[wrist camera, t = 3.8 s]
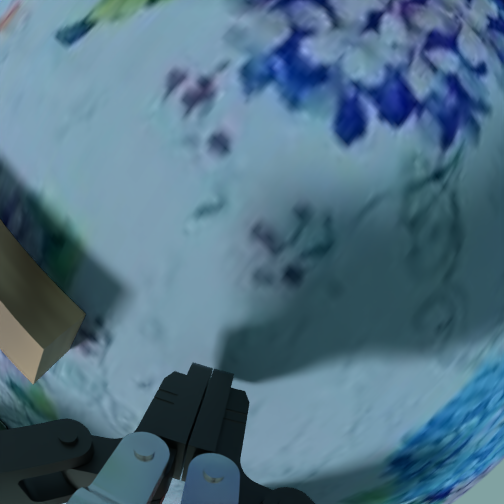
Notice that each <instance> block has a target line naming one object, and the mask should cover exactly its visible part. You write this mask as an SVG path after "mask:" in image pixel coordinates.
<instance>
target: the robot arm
mask: <svg viewBox="0 0 504 504" xmlns="http://www.w3.org/2000/svg"><path fill="white" fill-rule="evenodd" d="M212 370H213V368H210V367H207V366H203V365H200V364H196V363H192V365H191V367H190V369H189V371H188V374H187V375H185V374H182V373H178V372H175V371H174V372H173V373H171V374H170V375H168V376H167V377H165V378H164V380H163V382H162V384H161V385H160V387H159V390H158V391H157V393H156V395H155V396H154V398H153V400H152V402H151V404H150V406H149V407H148V409H147V411H146V413H145V415H144V417H143V419H142V420H141V422H140V424H139V426H138V428H137V429H136V431H135V432H134V433H131V434H128V435H127V436H125V437H124V438H119V439H110V438H104V437H98V436H93V435H91V434H90V432H89V430H88V429H87V428H86V427H85V426H84V425H83V424H81V423H80V422H78V421H75V420H72V419H60V420H55V421H50V422H46V423H41V424H36V425H31V426H25V427H19V428H13V429H7V430H1V431H0V504H63V503H66V502H67V504H162V502H163V500H164V498H165V495H166V493H167V491H168V489H169V486H170V483H171V480H172V478H175V479H178V480H179V479H180V476H181V473H182V470H183V474H182V481H185V486H184V491H183V495H182V500H181V504H315V503H314V502H313V501H312V500H311V499H310V498H309V497H308V496H307V495H306V494H305V493H303V492H302V491H300V490H297V489H294V488H288V487H283V488H277V489H275V490H271V489H269V488H266V487H264V486H262V485H260V484H258V483H256V482H254V481H252V480H251V479H250V478H248V477H247V476H246V474H245V473H244V472H243V470H242V468H241V464H240V457H241V451H242V445H243V439H244V433H245V427H246V421H247V414H248V408H249V400H248V398H247V395H246V392H245V391H242V390H238V389H234V388H231V385H232V381H233V376H234V374H232V373H228V372H225V371H221V370H217V369H214V371H213V373H212ZM211 374H212V376H211ZM183 467H184V469H183Z"/></svg>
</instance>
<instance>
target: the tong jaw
mask: <svg viewBox="0 0 504 504" xmlns="http://www.w3.org/2000/svg"><path fill="white" fill-rule="evenodd" d="M85 315H86V314H85V313H84V312H83V311H82V310H81V309H80V308H79V307H78V306H77V305H76V304H75V303H74V302H73V301H72V300H71V299H70V298H69V297H68V296H67V295H66V294H65V293H64V292H63V291H62V290H61V289H60V288H59V287H58V286H57V285H56V284H55V283H54V282H53V281H52V280H51V279H50V278H49V277H48V276H47V275H46V273H45V272H44V271H43V270H42V269H41V268H40V267H39V266H38V265H37V264H36V262H35V261H34V260H33V259H32V258H31V257H30V256H29V254H28V253H27V252H26V251H25V250H24V249H23V247H22V246H21V245H20V244H19V243H18V241H17V240H16V239H15V238H14V236H13V235H12V234H11V233H10V231H9V230H8V229H7V227H6V226H5V225H4V224H3V222H2V221H1V220H0V349H1V350H2V351H3V352H4V354H5V355H6V356H7V357H8V358H9V359H10V360H11V362H12V363H13V364H14V365H15V366H16V367H17V368H18V369H19V370H20V371H21V372H22V373H23V374H24V376H25V377H26V378H27V379H28V380H29V381H30V382H31V383H32V384H34V383H35V382H36V381H37V380H38V379H39V378H40V377H41V376H42V375H43V374H45V373H46V372H47V371H48V370H49V369H50V368H51V367H52V366H53V365H54V364H55V363H56V362H57V361H58V360H59V359H60V358H61V357H62V356H63V355H64V354H65V353H66V352H67V351H69V349H70V347H71V345H72V342H73V340H74V338H75V336H76V334H77V332H78V330H79V328H80V326H81V323H82V321H83V319H84V317H85Z"/></svg>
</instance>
